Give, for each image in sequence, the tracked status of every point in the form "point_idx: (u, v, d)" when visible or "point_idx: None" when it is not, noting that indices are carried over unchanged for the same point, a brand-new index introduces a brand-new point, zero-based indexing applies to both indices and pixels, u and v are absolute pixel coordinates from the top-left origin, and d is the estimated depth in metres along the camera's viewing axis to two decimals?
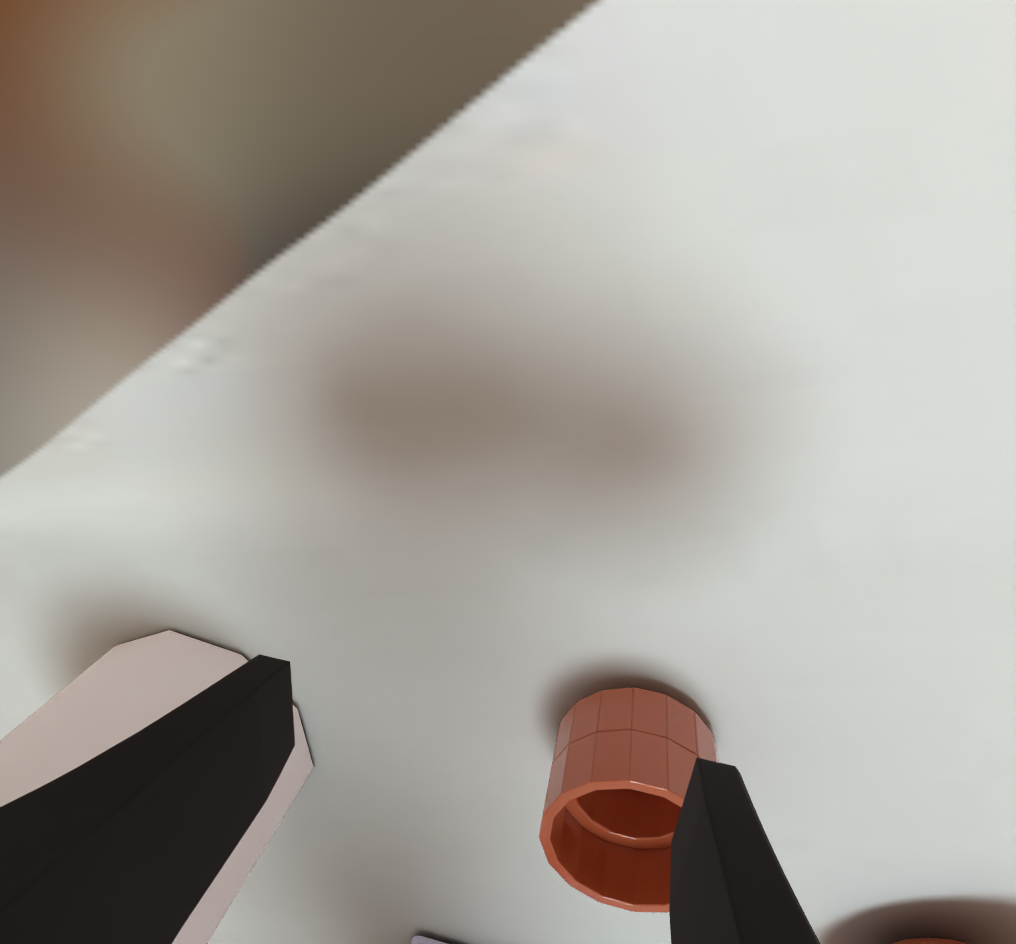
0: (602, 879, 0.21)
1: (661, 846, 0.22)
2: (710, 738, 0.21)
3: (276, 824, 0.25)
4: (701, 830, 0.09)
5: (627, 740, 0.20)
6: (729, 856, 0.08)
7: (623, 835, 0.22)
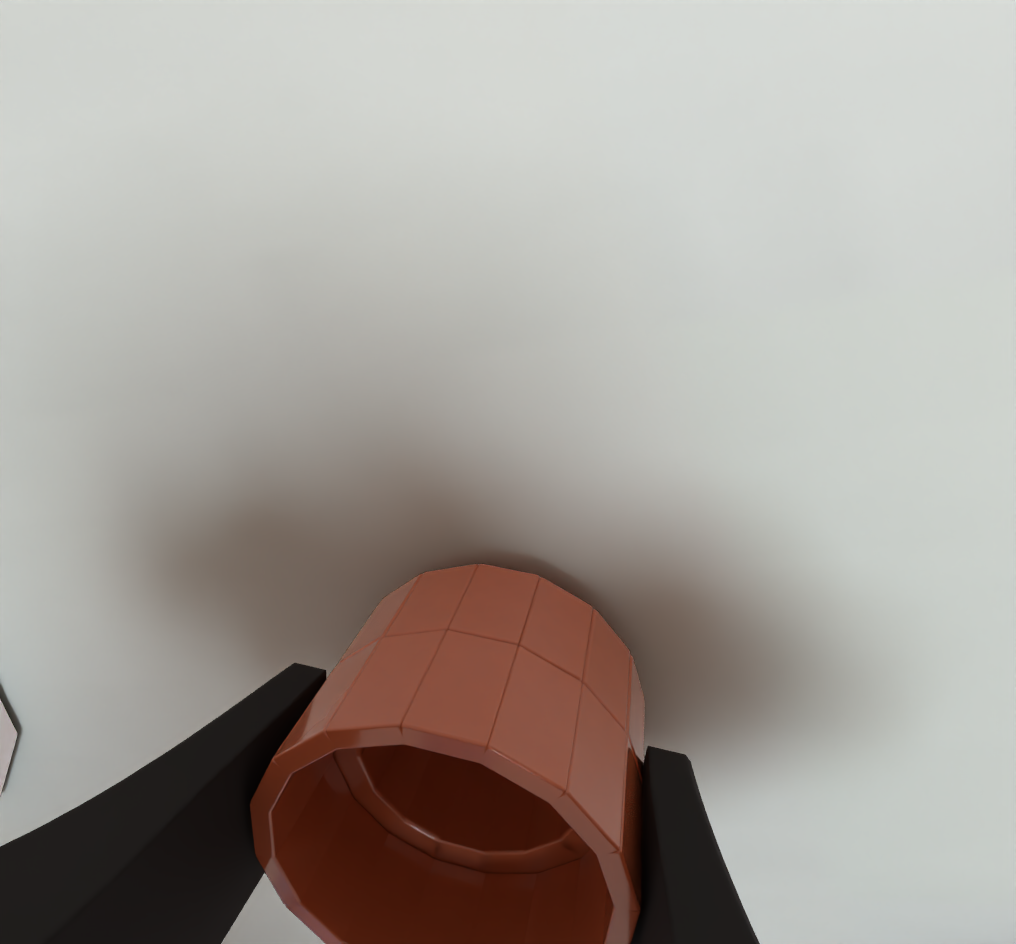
0: (406, 935, 0.11)
1: (532, 869, 0.11)
2: (623, 658, 0.11)
3: None
4: (646, 817, 0.09)
5: (431, 648, 0.09)
6: (668, 840, 0.08)
7: (461, 847, 0.11)
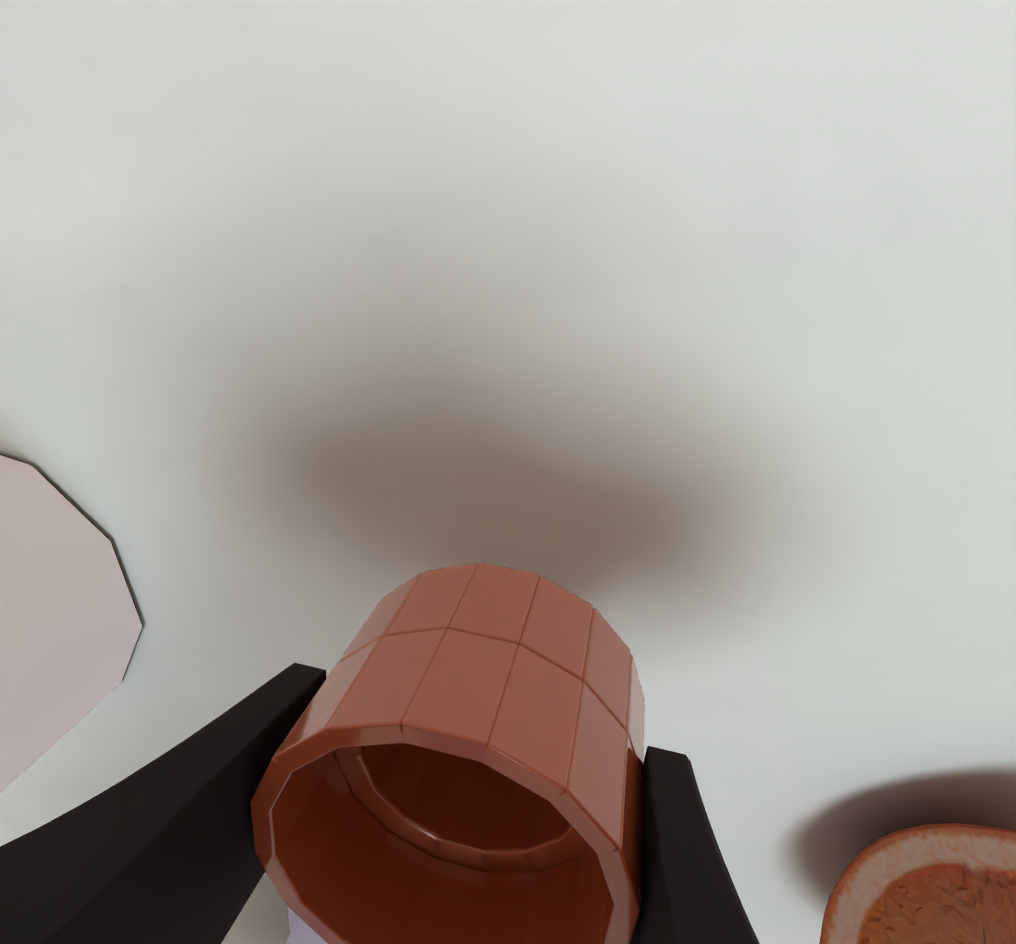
0: (406, 933, 0.11)
1: (532, 868, 0.11)
2: (623, 657, 0.11)
3: (68, 682, 0.19)
4: (647, 816, 0.09)
5: (431, 647, 0.09)
6: (668, 840, 0.08)
7: (462, 845, 0.11)
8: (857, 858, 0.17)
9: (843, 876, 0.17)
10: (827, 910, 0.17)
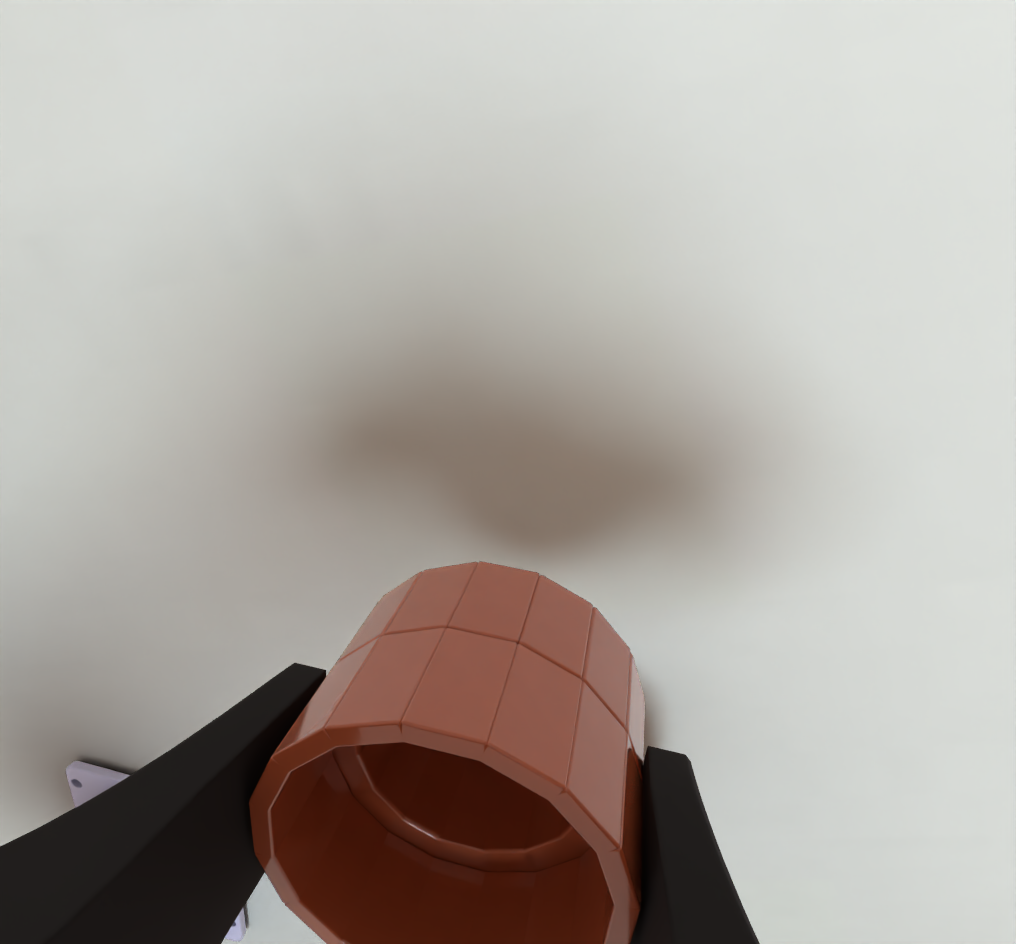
0: (405, 933, 0.11)
1: (532, 867, 0.11)
2: (623, 656, 0.11)
3: None
4: (646, 816, 0.09)
5: (431, 646, 0.09)
6: (668, 840, 0.08)
7: (461, 845, 0.11)
8: None
9: None
10: None
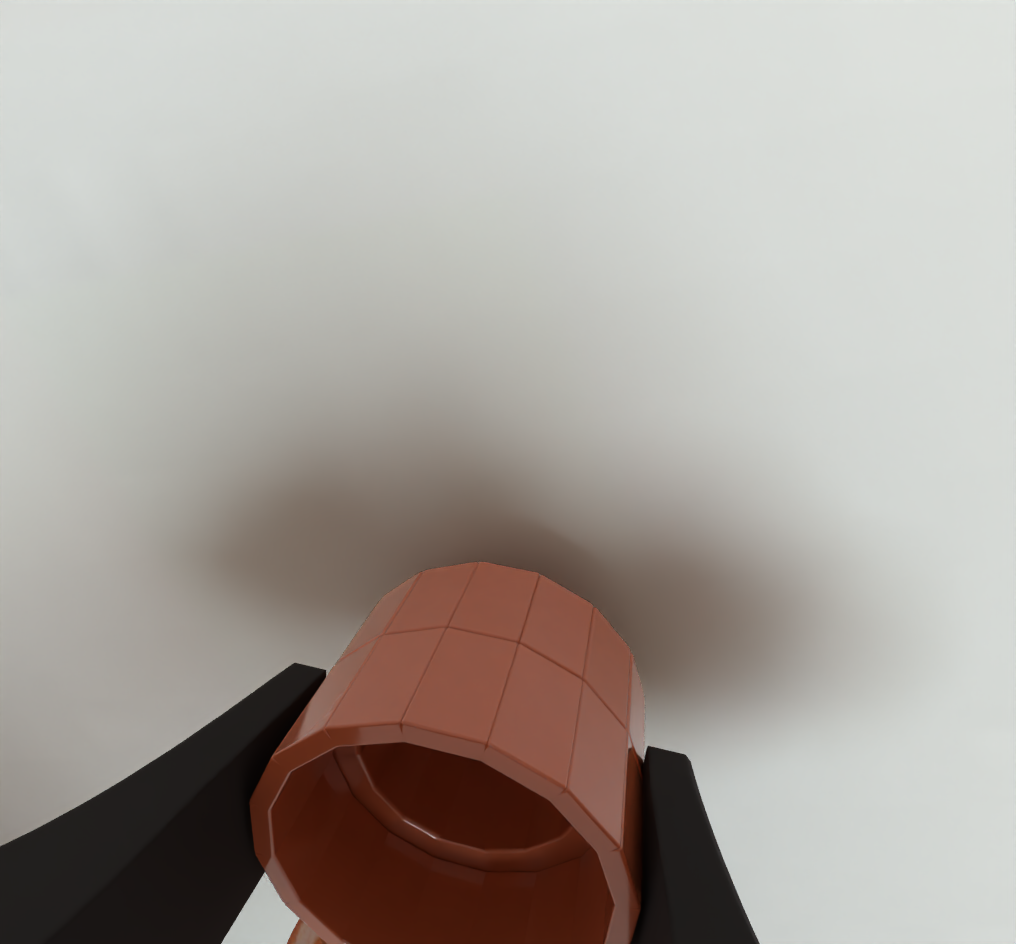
0: (405, 933, 0.11)
1: (532, 867, 0.11)
2: (623, 656, 0.11)
3: None
4: (647, 816, 0.09)
5: (431, 646, 0.09)
6: (668, 840, 0.08)
7: (461, 845, 0.11)
8: None
9: None
10: (290, 939, 0.16)
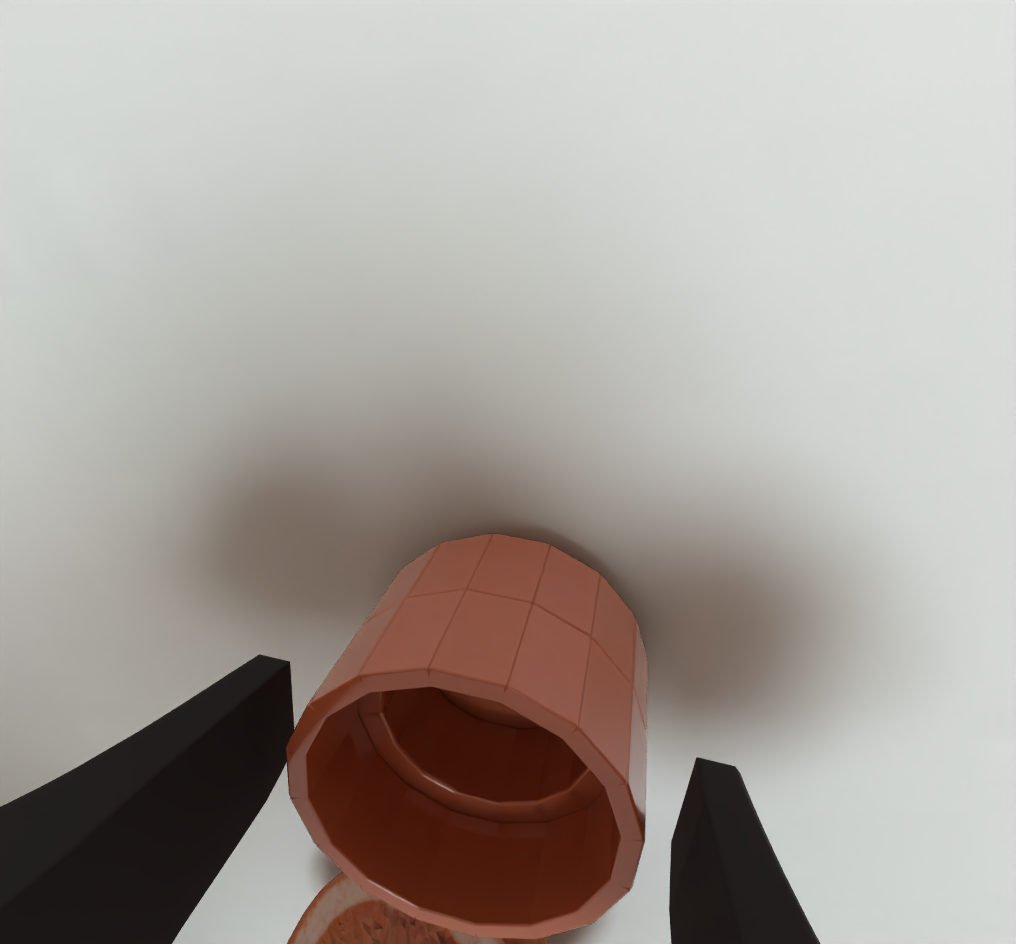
0: (426, 876, 0.11)
1: (543, 818, 0.12)
2: (628, 621, 0.12)
3: None
4: (701, 830, 0.09)
5: (452, 605, 0.10)
6: (729, 856, 0.08)
7: (477, 798, 0.12)
8: (319, 892, 0.16)
9: (305, 911, 0.16)
10: None
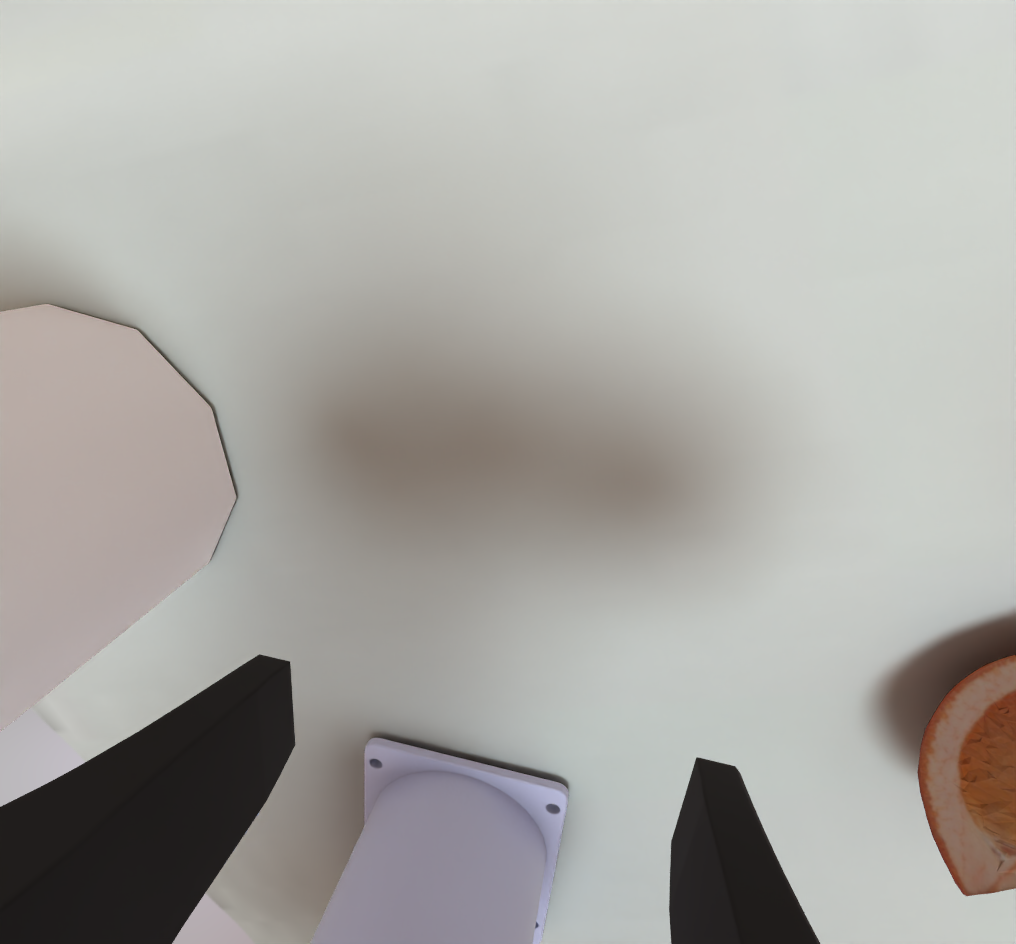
0: None
1: None
2: None
3: (177, 534, 0.19)
4: (701, 830, 0.09)
5: None
6: (729, 856, 0.08)
7: None
8: (954, 688, 0.17)
9: (940, 705, 0.17)
10: (925, 738, 0.17)
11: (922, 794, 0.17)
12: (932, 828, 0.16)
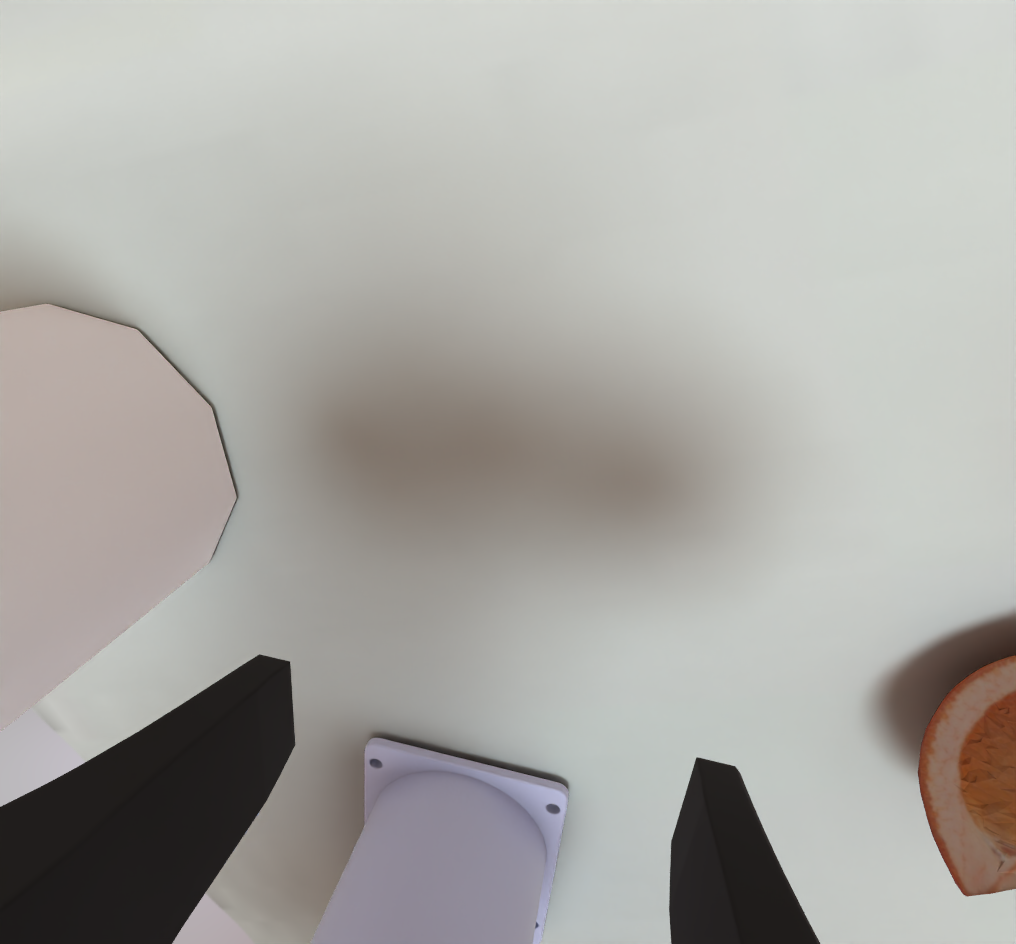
0: None
1: None
2: None
3: (178, 534, 0.19)
4: (701, 831, 0.09)
5: None
6: (729, 856, 0.08)
7: None
8: (954, 688, 0.17)
9: (941, 706, 0.17)
10: (926, 738, 0.17)
11: (922, 794, 0.17)
12: (932, 828, 0.16)
